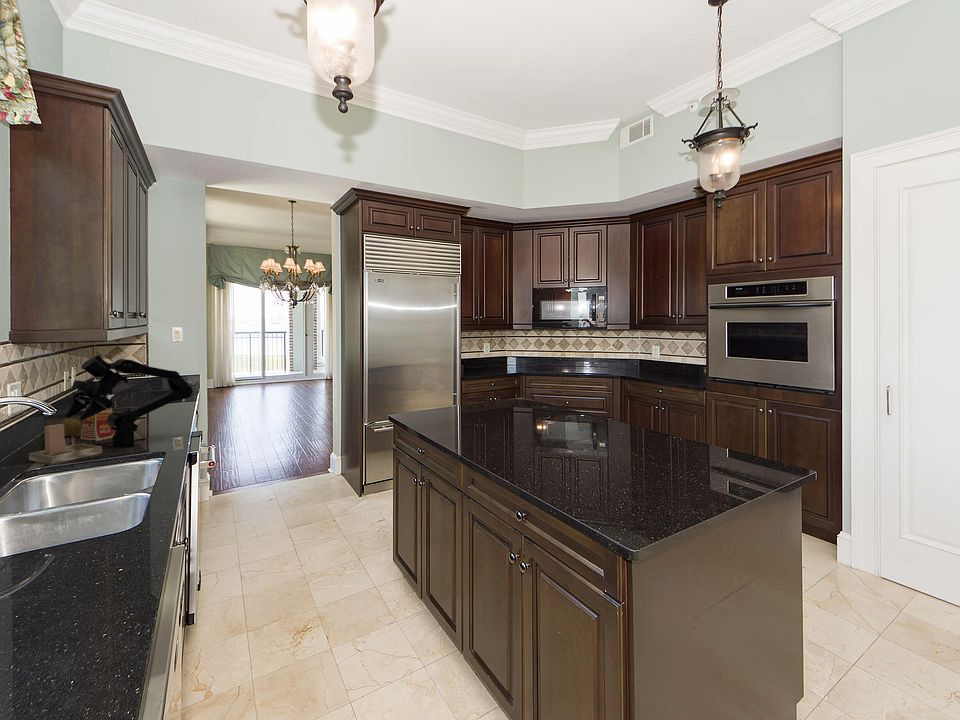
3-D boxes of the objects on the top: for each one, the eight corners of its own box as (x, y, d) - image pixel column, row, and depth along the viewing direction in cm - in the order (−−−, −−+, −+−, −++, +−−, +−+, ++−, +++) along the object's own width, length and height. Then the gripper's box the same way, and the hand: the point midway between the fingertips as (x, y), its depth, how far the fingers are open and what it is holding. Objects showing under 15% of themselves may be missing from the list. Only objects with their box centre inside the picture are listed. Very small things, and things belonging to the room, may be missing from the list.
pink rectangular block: (60, 456, 169) (59, 424, 168) (65, 457, 168) (64, 424, 167) (45, 460, 165) (44, 426, 164) (50, 460, 164) (49, 426, 163)
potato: (83, 436, 202) (82, 418, 202) (59, 439, 197) (59, 420, 197) (82, 434, 207) (81, 416, 207) (59, 436, 202) (58, 418, 202)
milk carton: (97, 440, 196) (96, 393, 195) (79, 439, 198) (78, 392, 197) (117, 436, 205) (117, 391, 204) (100, 434, 207) (99, 390, 205)
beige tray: (80, 451, 179) (80, 443, 179) (102, 454, 175) (101, 446, 175) (29, 461, 164) (28, 453, 164) (51, 465, 160) (51, 457, 160)
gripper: (74, 370, 180) (39, 403, 171) (102, 373, 172) (68, 407, 163) (98, 388, 188) (67, 420, 179) (126, 391, 180) (95, 425, 171)
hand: (73, 418), depth 173 cm, fingers open, 9 cm apart
